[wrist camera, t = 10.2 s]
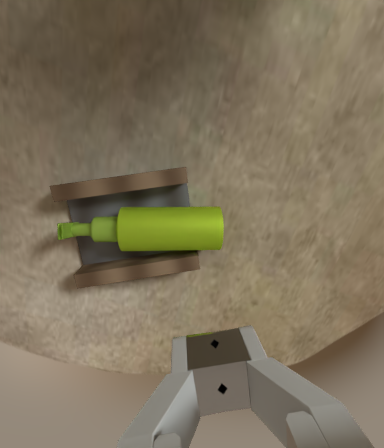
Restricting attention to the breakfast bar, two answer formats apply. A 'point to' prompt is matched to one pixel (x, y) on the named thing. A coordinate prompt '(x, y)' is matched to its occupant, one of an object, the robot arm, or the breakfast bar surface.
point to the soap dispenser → (154, 228)
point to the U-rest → (109, 207)
